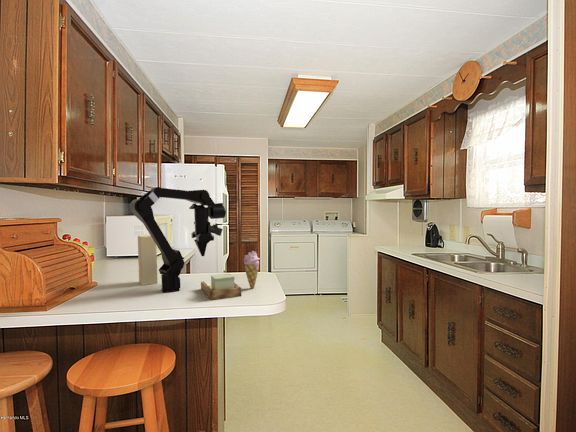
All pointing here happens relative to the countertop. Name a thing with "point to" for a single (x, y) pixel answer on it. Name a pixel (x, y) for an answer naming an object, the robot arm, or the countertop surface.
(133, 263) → the countertop surface
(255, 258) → the ice cream cone
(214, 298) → the bay
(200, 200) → the robot arm
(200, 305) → the countertop surface
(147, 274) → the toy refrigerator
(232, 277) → the pale green block
